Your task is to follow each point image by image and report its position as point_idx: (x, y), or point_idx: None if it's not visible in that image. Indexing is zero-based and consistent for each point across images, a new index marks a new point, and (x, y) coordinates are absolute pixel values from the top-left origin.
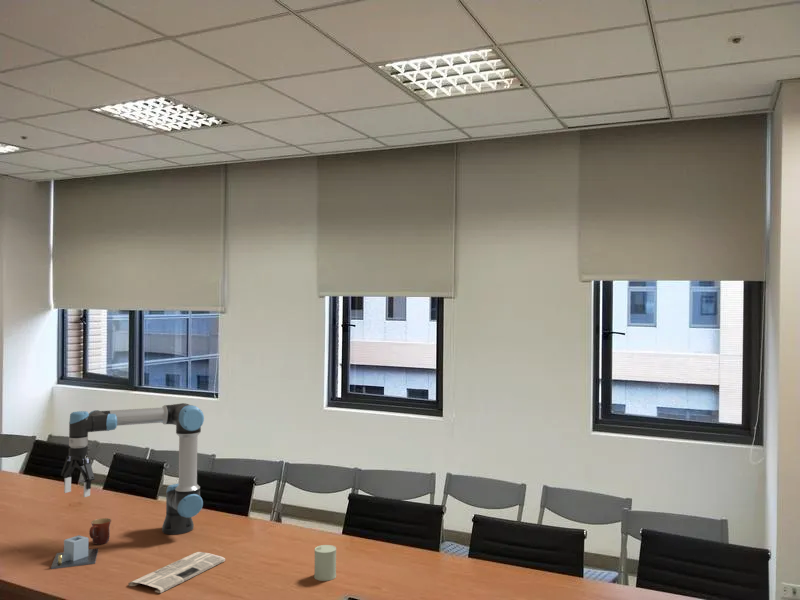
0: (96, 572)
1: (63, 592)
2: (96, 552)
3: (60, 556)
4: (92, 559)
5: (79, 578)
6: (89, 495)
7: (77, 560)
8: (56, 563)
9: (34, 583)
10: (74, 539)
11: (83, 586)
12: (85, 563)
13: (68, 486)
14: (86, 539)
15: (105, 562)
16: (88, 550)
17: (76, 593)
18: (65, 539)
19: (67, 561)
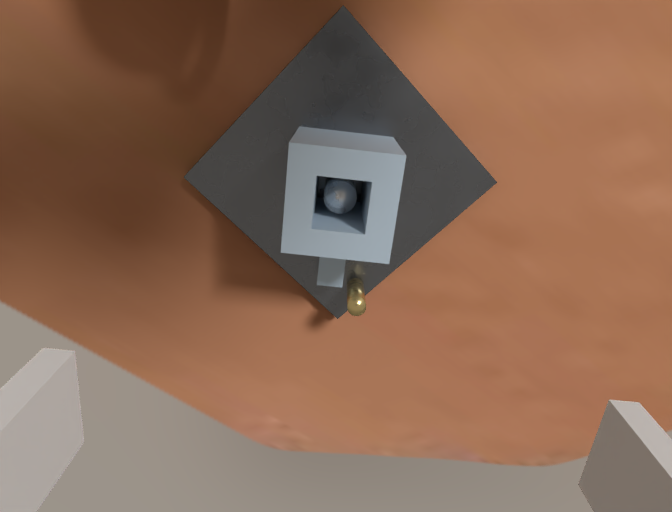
0: (585, 260)
1: None
2: (394, 71)
3: (364, 310)
4: (461, 168)
5: (556, 336)
6: (637, 418)
7: None
8: None
9: (409, 433)
10: (314, 196)
11: (636, 384)
12: (457, 213)
13: (16, 477)
14: (403, 171)
15: (536, 142)
16: (318, 65)
17: None
18: (281, 243)
19: None
